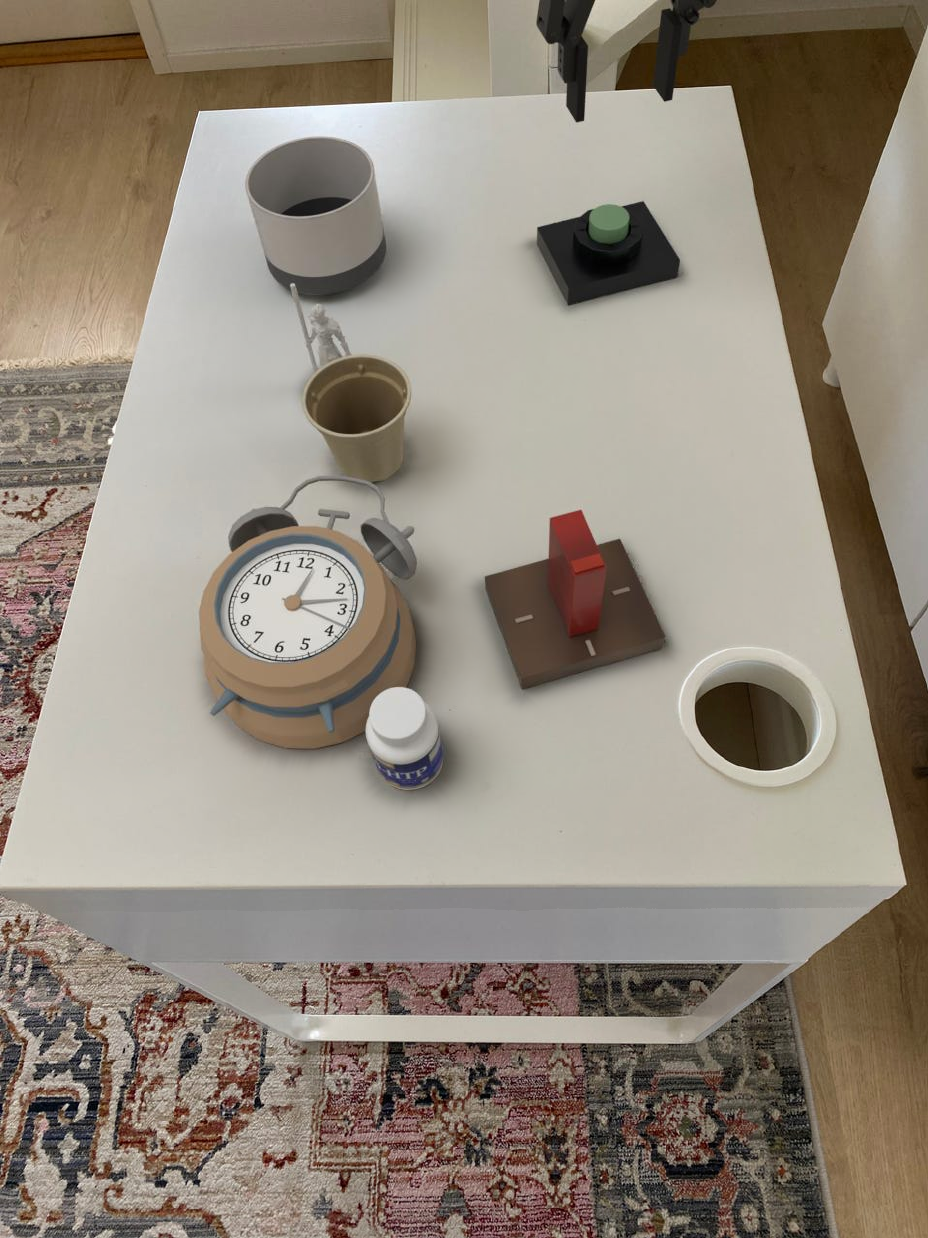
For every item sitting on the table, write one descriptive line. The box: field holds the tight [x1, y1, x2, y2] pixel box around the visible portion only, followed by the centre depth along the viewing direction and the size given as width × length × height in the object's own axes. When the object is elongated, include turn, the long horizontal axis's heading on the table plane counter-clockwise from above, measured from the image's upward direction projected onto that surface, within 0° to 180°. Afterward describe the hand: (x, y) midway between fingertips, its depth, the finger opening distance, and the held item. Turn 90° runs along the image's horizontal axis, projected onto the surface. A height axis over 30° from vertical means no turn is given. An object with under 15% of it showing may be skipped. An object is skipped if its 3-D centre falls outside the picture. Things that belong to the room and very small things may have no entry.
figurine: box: [290, 283, 353, 374], centre depth 87 cm, size 5×5×12 cm
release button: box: [589, 203, 629, 244], centre depth 96 cm, size 4×4×2 cm
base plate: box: [484, 538, 666, 690], centre depth 77 cm, size 12×10×2 cm
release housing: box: [536, 200, 681, 306], centre depth 98 cm, size 12×10×4 cm
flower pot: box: [301, 353, 412, 483], centre depth 84 cm, size 9×9×9 cm
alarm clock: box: [198, 475, 418, 750], centre depth 75 cm, size 17×9×23 cm
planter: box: [244, 135, 387, 296], centre depth 97 cm, size 13×13×10 cm
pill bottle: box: [365, 687, 444, 791], centre depth 69 cm, size 5×5×9 cm
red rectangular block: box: [548, 509, 607, 637], centre depth 72 cm, size 6×2×9 cm, turn 16°
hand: (619, 102), depth 85 cm, fingers open, 8 cm apart
